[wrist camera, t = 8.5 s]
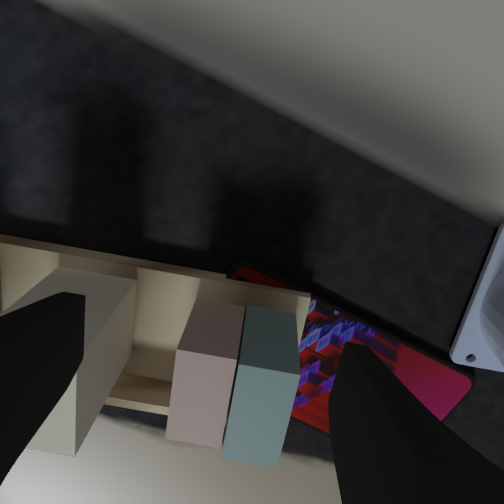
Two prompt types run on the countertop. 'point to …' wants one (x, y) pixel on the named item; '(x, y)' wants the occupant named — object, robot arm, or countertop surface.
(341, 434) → the robot arm
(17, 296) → the shelf board
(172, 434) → the shelved books
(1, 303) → the bookend
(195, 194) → the countertop surface
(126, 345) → the book
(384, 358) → the smartphone
